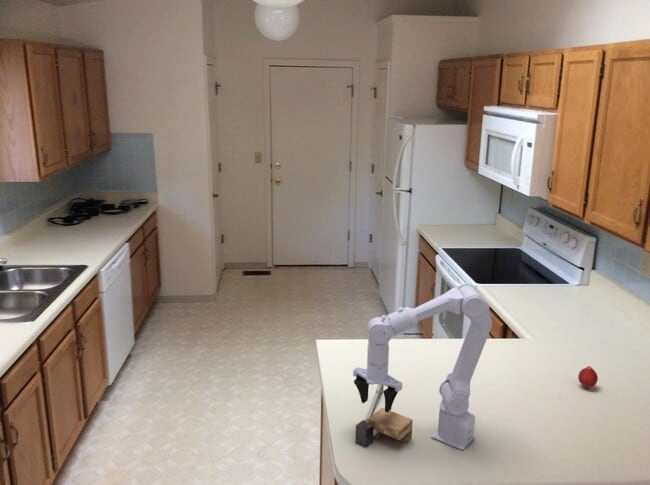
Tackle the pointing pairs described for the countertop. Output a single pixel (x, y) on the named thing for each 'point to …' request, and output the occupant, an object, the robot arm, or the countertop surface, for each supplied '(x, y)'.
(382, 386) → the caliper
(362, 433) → the dark grey block
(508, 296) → the countertop surface
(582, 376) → the onion
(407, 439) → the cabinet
